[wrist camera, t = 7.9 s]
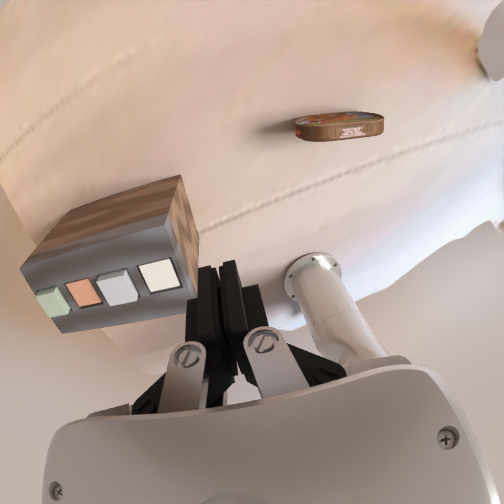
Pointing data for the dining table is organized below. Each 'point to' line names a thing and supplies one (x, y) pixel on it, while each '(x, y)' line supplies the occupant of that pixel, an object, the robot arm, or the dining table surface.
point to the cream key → (160, 274)
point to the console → (120, 254)
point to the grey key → (118, 287)
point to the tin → (338, 126)
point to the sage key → (52, 301)
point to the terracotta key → (83, 292)
